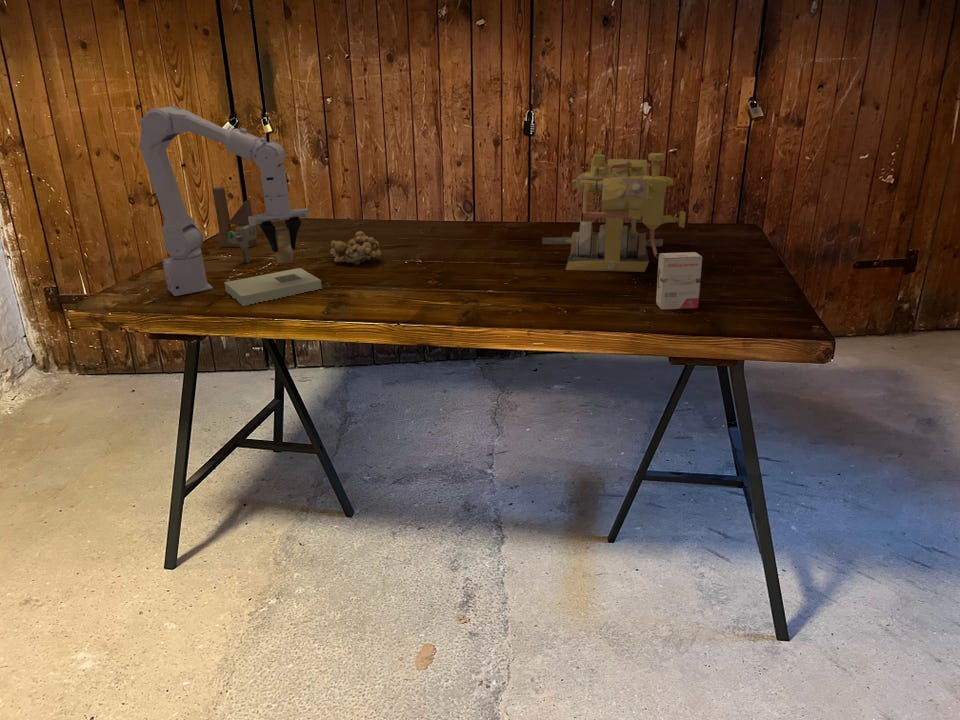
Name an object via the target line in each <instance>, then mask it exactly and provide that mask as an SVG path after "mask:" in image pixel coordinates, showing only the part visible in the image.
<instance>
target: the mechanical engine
mask: <svg viewBox="0 0 960 720" xmlns="http://www.w3.org/2000/svg"><path fill="white" fill-rule="evenodd" d="M647 157H648V160H647V159H633V158H632V159H630V158H629V159H626V158H624V157H621V158H609V159H607V163H606V155H605V154H602V149H599V148H597V153H596V154H593V157H592V160H591V163H590V172H589V171H587V172H586V171H585V172H581V174H579V176H578V177H577V179H572V186H574V187H576V189H577V191H579V192H580V193H581V192H583V193H582V211H581V212H582V214H583V215H584V216H585V217H587V218H605V223H604V224H600V226H599V232H597V231H596V232H595V231H594V232H593V221H580V223H579V224H580V225H579V231H573V232H572V234H571V236H561V237H559V236H558V237H556V236H555V237H542V238H541V241H542V242H541V243H542V245H570V253H569V255H568V258H567V262H566V266H565V271H586V272H587V271H596V272H598V271H599V272H600V271H601V272H629V273H630V272H632V273H633V272H637V273H639V272H640V273H644V272H646V269H647V267H648V265H649V263H650V260H649V255H648V250H647V247H651V249H652V252H653V255H654V258H656V260H659V254H658V251H657V248H656V247H663V246H664V238H655V231H656V230H657V228H659V227H660V226H661V225H663V224H667V223H674V222H678V224H677V225H678V227H680V228H682V229H685V226H686V225H685V224H686V211H685V210H684V211H683V210H679V213H678V216H677V217H676V216H675V217H674V216H673V215H672V214H670V215H669V214H667V215H665V214H664V210H665V209H664V207H665V198H666V193H667V187H674V181H675V180H674V178H672V177H669V176H665V175H664V176H662V175H660V171H661V167H660V163H659V162H661V161H665V160H666V154H665V153H662V152H655V153H654V152H652V153H651V152H650V153H648V156H647ZM648 161H651V163H648ZM651 165H652V166H651ZM650 167H651V175H650V172H649V170H648V168H650ZM589 193H602V195H601V211H588V199H589V198H588V196H589ZM641 217H642V218H641ZM625 219H631V222H630V228H629V226H628V225H624V220H625ZM641 219H642V221H641V222H642V223H643V225H644V226H645V227H646V228H647V229H648V230H649V239H646V238H647V233H645V232H644V233H640V232H639V231H637V229H636V228H637V221H638V220H641ZM628 229H629V230H628Z"/></svg>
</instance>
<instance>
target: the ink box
mask: <svg viewBox="0 0 960 720" xmlns="http://www.w3.org/2000/svg"><path fill="white" fill-rule="evenodd" d="M702 265H703V256H702V255H700V254H699V253H698V252H695V251H690V252H665V253H664V252H662V253H661V252H660V253H658V265H657V266H658V267H657V279H656V281H657V282H656V294H655V295H656V297H655V299H656V300H655V303H656V305H657V306H658V307H659V308H660V310H680V309H683V310H685V309H698V308H699V302H700V301H699V300H700V292H701V291H700V290H701V278H702Z"/></svg>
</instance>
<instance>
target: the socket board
mask: <svg viewBox="0 0 960 720" xmlns="http://www.w3.org/2000/svg"><path fill="white" fill-rule="evenodd" d="M223 284H224V288H225V292H226V293H227V294H228V295H229V294H230V295H231V296H232V298H233V299H234V300H235V299H236V300H237V301H238V302H237V301H236V300H235V301H236V302H237V303H238V304H240V305H241V306H243V307H247V306H251V305H250V304H252V305H256V304H259V303H258V302H261V303H264V302H263V301H266V302H269V301H268V300H271V301H274V300H273V299H275V300H278V298H280V299H283V298H282V297H285V298H287V297H286V296H290V297H292V296H291V295H294V296H296V295H295V294H299V293H304V292H308V291H313V292H315V291H314V290H318V289H322V290H323V288H322V279H320V278H318V277H316V276H315V275H313V274H311V273H309V272H308V271H306V270H305V269H303V268H301V267H299V268H293V269H292V268H291V269H287V270H281V271H276V272H271V273H266V274H261V275H260V274H259V275H255V276H251V277H246V278H239V279H235V280H230V281H224V283H223ZM318 291H319V290H318ZM304 294H305V293H304ZM230 295H229V296H230ZM299 295H300V294H299ZM231 296H230V297H231ZM255 303H256V304H255ZM246 305H247V306H246Z"/></svg>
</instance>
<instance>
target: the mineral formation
mask: <svg viewBox="0 0 960 720" xmlns="http://www.w3.org/2000/svg"><path fill="white" fill-rule="evenodd" d="M330 243H331V247H332V248H331V249H329V250H330V253H329V254H331V256H333V257H334V259H333V262H334V263H341V262H342V263H344V262H346V263H352V264H354V265H356V264H358V265H360V264H362V263H364V262H365V261H370V260H371V258H379V257H381V255H382V252H381V251H380V244H379V243H380V242H379V241H378V240H377V239H375V238H374V237H369V236H368V235H366V234H365V233H364V232H363V231H361V230H360V231H357V232H356V233H355V235H354V237H353V238H352V239H349V240H348V242H347V243H346V242H343V241H341V240H331V242H330Z"/></svg>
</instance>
